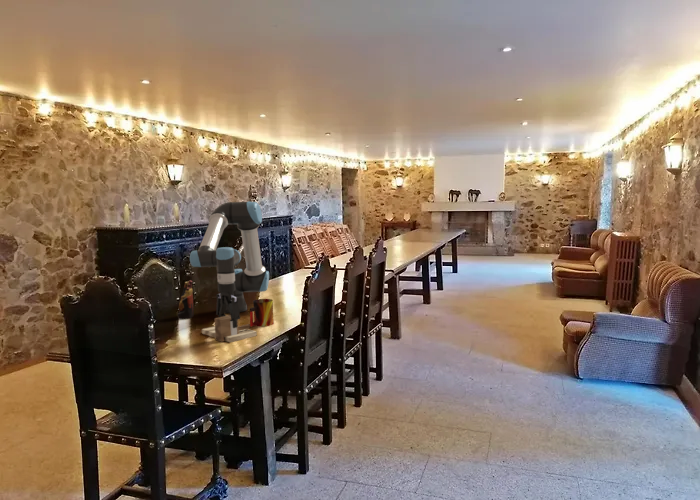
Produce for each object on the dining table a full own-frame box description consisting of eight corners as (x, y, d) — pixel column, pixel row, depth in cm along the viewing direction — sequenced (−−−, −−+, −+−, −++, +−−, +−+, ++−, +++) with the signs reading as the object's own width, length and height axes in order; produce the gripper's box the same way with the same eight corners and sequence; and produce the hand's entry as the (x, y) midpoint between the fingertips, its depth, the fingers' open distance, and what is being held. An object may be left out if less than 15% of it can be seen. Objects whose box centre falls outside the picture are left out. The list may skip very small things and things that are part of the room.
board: (201, 333, 231) (201, 329, 231) (227, 327, 241) (227, 323, 241) (230, 342, 215) (230, 337, 214) (256, 335, 225) (256, 331, 225)
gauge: (215, 339, 219) (214, 318, 218) (245, 332, 230) (245, 311, 229) (221, 341, 215) (220, 320, 214) (252, 334, 227) (251, 313, 226)
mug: (250, 328, 237) (249, 304, 236) (256, 322, 251) (255, 298, 250) (270, 328, 237) (269, 304, 236) (275, 321, 251) (274, 298, 250)
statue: (182, 315, 271) (180, 279, 269) (196, 315, 271) (194, 279, 269) (174, 320, 259) (172, 282, 257) (189, 320, 259) (187, 282, 257)
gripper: (206, 281, 221) (208, 331, 223) (232, 286, 207) (234, 339, 209) (221, 279, 226) (223, 327, 229) (247, 283, 212) (249, 335, 214)
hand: (228, 333), depth 219 cm, fingers open, 8 cm apart
